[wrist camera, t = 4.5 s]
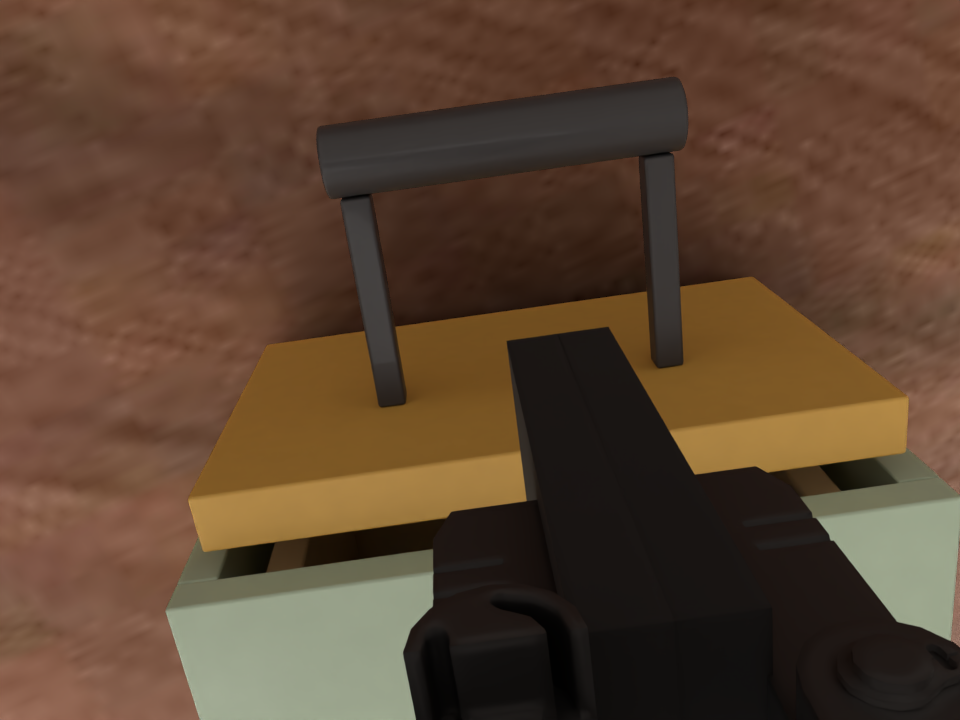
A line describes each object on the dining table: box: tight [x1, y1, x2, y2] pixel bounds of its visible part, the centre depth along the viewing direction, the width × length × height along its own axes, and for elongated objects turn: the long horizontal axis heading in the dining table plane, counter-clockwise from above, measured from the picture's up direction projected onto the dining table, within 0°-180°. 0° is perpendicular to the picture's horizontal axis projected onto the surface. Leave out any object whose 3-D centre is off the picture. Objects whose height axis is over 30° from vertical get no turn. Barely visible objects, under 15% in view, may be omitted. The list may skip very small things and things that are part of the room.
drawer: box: [188, 77, 909, 573], centre depth 22 cm, size 22×13×8 cm, turn 7°
